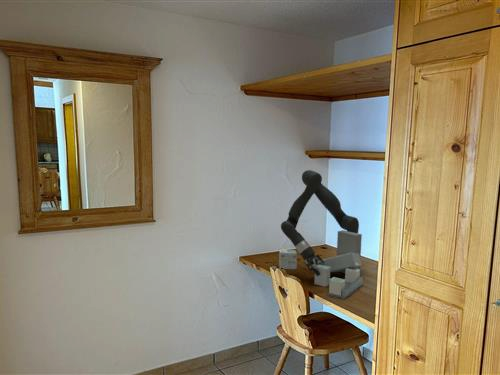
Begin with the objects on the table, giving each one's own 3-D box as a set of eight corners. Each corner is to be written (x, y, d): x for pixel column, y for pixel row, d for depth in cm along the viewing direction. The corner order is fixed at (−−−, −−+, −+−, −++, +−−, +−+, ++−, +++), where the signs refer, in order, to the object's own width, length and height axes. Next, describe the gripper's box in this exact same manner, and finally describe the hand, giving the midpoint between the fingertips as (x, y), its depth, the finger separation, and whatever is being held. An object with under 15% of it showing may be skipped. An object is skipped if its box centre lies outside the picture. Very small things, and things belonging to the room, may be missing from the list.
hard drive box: (322, 273, 227) (354, 265, 218) (318, 260, 229) (351, 252, 220) (331, 273, 240) (362, 265, 231) (327, 260, 242) (358, 252, 233)
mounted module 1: (333, 289, 208) (333, 276, 207) (344, 292, 204) (345, 279, 203) (329, 292, 204) (329, 279, 203) (340, 295, 200) (341, 281, 199)
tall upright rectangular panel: (360, 274, 237) (362, 234, 234) (354, 276, 233) (356, 235, 230) (341, 268, 248) (343, 230, 245) (335, 270, 244) (337, 231, 241)
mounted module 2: (348, 279, 225) (348, 266, 224) (359, 281, 221) (359, 269, 220) (344, 281, 221) (345, 269, 220) (355, 284, 217) (356, 271, 216)
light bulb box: (295, 266, 252) (295, 249, 250) (296, 269, 245) (297, 252, 244) (278, 266, 251) (279, 249, 250) (279, 269, 245) (280, 252, 243)
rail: (347, 281, 225) (347, 273, 225) (362, 284, 220) (362, 277, 219) (327, 295, 204) (328, 286, 204) (344, 299, 199) (344, 290, 198)
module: (318, 281, 224) (319, 264, 223) (329, 284, 220) (330, 266, 219) (314, 283, 220) (315, 266, 219) (325, 286, 216) (326, 268, 215)
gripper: (303, 248, 217) (321, 273, 212) (315, 243, 229) (332, 266, 223) (294, 256, 221) (312, 280, 216) (306, 250, 232) (323, 273, 227)
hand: (322, 273), depth 219 cm, fingers open, 8 cm apart
